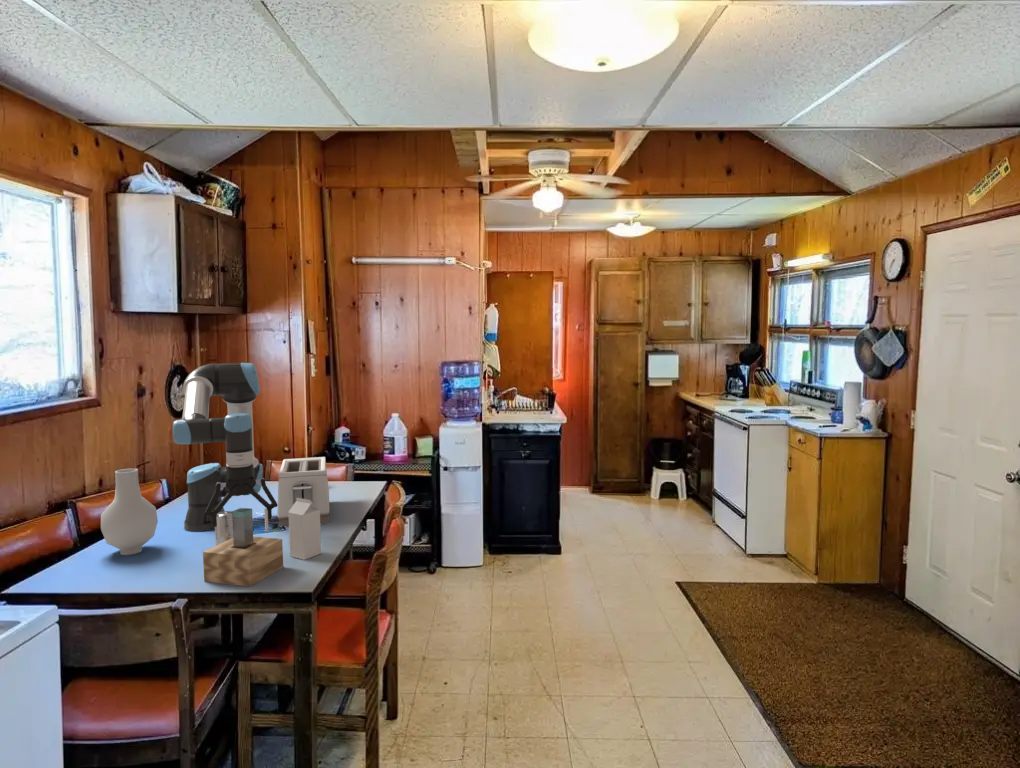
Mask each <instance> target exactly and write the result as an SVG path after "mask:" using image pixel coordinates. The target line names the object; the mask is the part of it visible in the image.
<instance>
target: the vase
mask: <svg viewBox="0 0 1020 768" xmlns="http://www.w3.org/2000/svg"><path fill="white" fill-rule="evenodd" d="M114 474H115V475H114V476H115V489H114V490H115V492H114V499H113V501H112V502H111V503H110V504H109V505H108V506H107V507H106V508H105V509H104V510H103V512H102V513H101V514H100V531H101V533H102V535H103V538H104V540H105V543H106V544H108V546H112V547H114V548H115V549H118V550H119V553H120V555H122V556H130V555H135V554H139V553H141V552H142V551H143V546H144V545H145V544H146V543H147V542H149V541H150V540H151V539H152V538H153V537H154V536H155V533H156V530H157V525H158V523H159V522H158V513H157V512H158V511H157V508H156V506H155V505H153V504H152V503H151V502H150V501H148V500H147V499H146V498H145V497H143V496H142V493H141V488H140V483H139V481H140V480H139V469H138V468H123V469H118V470H115V471H114Z"/></svg>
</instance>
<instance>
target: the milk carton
mask: <svg viewBox="0 0 1020 768" xmlns="http://www.w3.org/2000/svg"><path fill="white" fill-rule="evenodd" d="M288 515H289V526H288V534H289V536H288V538H289V539H288V540H289V556H290V557H292V558H297V559H299V560H303V561H304V560H308V559H310V558H312V557H315V556H318V555H321V554H322V540H321V539H322V536H321V524H320V510H319V509H318V508H316V507H315V506H314V505H313V503H312V502H311V500H306V499H301V498H296V502H295V504H294V505H293V506H292V508H291V509H290V510H289V512H288Z"/></svg>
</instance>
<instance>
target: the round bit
mask: <svg viewBox="0 0 1020 768" xmlns="http://www.w3.org/2000/svg"><path fill="white" fill-rule="evenodd" d="M232 511H233V510H227V511H225V510H224V512H219V513H218V514H219V522H220V538H217V526H216V527H215V529H214V538H215V539H214V541H215V546H217V545H219V544H221V543H223V542H225V541H227V540H230V539H232V538H233V520H232Z"/></svg>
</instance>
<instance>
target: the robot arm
mask: <svg viewBox="0 0 1020 768" xmlns="http://www.w3.org/2000/svg"><path fill="white" fill-rule="evenodd" d="M257 371H258V370H257V366H256V365H255V364H254V363H251V362H229V363H227V362H226V363H207V364H204V365H201V366H199V367H197V368H195V369H194V370H192V371H191V372H190V373H189V374H188V375H187V376H186V378H185V379H184V381H183V384H182V392H183V394H184V400H183V401H184V402H183V409H182V410H183V411H182V417H181V419H177V420H174V421H173V422H172V438H173V442H174V443H175V444H177V445H194V444H207V443H220V442H221V443H222V442H223V443H225V460H226V461H225V462H226V463H225V465H226V466H221V464H220V463H219V462H214V463H213V462H210V463H205V464H202V465H201V464H200V465H197V466H195V467H192V468H191V469H189V470H188V471H187V474H186V485H187V502H188V503H187V504H188V505H187V506H188V507H187V508H188V509H187V511H186V515H185V520H183V525H184V530H186V531H189V532H203V531H204V532H205V531H212V530H215V527H216V526H217V538H220V522H219V514H218V513H219V512H224V511H225V508H224V506H225V505H226V504H227V503H228V502H229V500H230V499H231V498H232V497H240V496H250V495H251V496H252V497H253V498H255V499H256V500H257V501H258V502H259V503H260V504H261V505H262V506H263V507H265V508H264V509H263V510H264V529H265V532H269V521H271V520H272V519H273V517H272V515H273V513H272V510H273V509H274V508H278V501H276V499H275V497H274V496H273V494H272V492H271V491H270V489H269V488H268V486H267V485H266V479H265V477H263V472H264V470H263V469H264V467H263V466H264V465H263V464H262V463H260V462H259V459H258V458H257V457H255V448H254V447H255V445H254V444H255V443H254V419H253V418H254V416H253V414H254V413H253V402H255V400H257V395H259V394H260V393H261V388H260V382H259V377H258V372H257ZM213 396H214V397H215V396H218V397H219V396H222V401H223V402H224V403H226V406H227V408H226V409H227V415H226V416H225V417H211V418H209V414H210V398H211V397H213ZM261 489H262V490H263V492H264V493H265V494H266V497H267V498H268V500H269V501H270V502H271V503H269V502H268V501H267V500H266V499H265V498H264V497H263V496H262V495H260V491H261Z"/></svg>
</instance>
